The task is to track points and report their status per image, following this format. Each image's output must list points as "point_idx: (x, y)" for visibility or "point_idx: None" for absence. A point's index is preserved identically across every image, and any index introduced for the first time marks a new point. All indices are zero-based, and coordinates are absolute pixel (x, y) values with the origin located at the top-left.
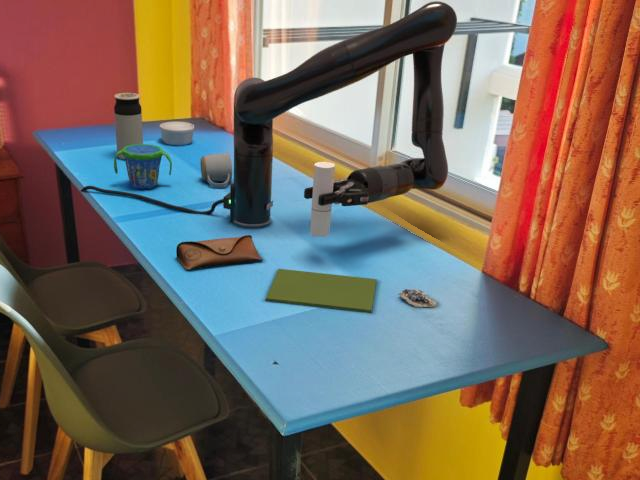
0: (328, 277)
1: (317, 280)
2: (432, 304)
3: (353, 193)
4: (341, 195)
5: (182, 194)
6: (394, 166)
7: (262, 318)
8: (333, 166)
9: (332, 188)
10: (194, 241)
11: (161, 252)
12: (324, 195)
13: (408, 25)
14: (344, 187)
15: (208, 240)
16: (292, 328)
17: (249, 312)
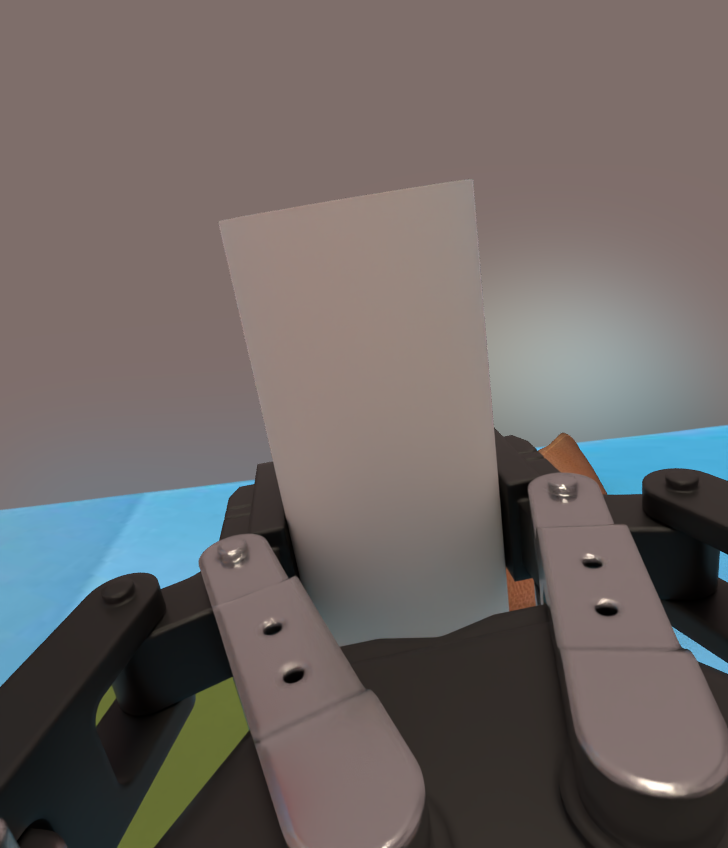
0: (145, 840)
1: (161, 768)
2: None
3: (44, 689)
4: (188, 601)
5: None
6: None
7: (120, 561)
8: (234, 218)
9: (288, 493)
10: (553, 444)
11: (628, 459)
12: (256, 476)
13: None
14: (253, 606)
15: (566, 468)
16: (16, 600)
17: (170, 547)
